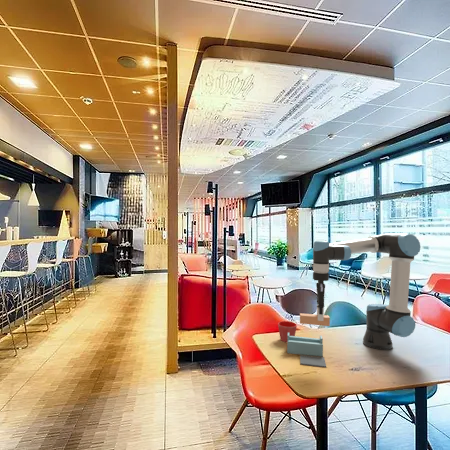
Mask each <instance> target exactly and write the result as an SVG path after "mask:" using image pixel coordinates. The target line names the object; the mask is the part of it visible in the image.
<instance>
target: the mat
mask: <svg viewBox="0 0 450 450" xmlns="http://www.w3.org/2000/svg"><path fill="white" fill-rule="evenodd" d="M299 362H300V365H302V366H309V367H319V368H327V363H326V360H325V357H324V356H323V357H319V356H309V355H300V354H299Z"/></svg>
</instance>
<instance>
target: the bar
mask: <svg viewBox="0 0 450 450" xmlns="http://www.w3.org/2000/svg"><path fill="white" fill-rule="evenodd" d="M330 318H331V317H330V316H329V315H328V314H326V315H325V314H324V321H318V315H317V314H315V313H314V314H313V313H312V314H311V313H304V312H303V313H301V312H299V324H302V325H313V326H325V327H330V322H331V319H330Z"/></svg>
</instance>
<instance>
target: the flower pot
mask: <svg viewBox="0 0 450 450" xmlns="http://www.w3.org/2000/svg"><path fill="white" fill-rule="evenodd" d="M277 326H278V332H279V338H280V341H281V342H283V343H287V341H288V333H289V336H296V332H297V327H298V325H297V323H295V322H293V321H288V320H287V321H286V320H283V321H282V320H281V321H279V322H277Z"/></svg>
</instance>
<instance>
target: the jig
mask: <svg viewBox="0 0 450 450" xmlns="http://www.w3.org/2000/svg"><path fill="white" fill-rule="evenodd" d="M286 343H287V345H286V347H287V349H286V350H287V351H286V352H287V354H292V355H293V354H294V355H299V356H300V355H306V356H315V357H324V344H323V343H324V340H323V335H319V338H317V337H316V338H315V337H307V336H297V335H295V336H289V333H288V341H287V342H286Z"/></svg>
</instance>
